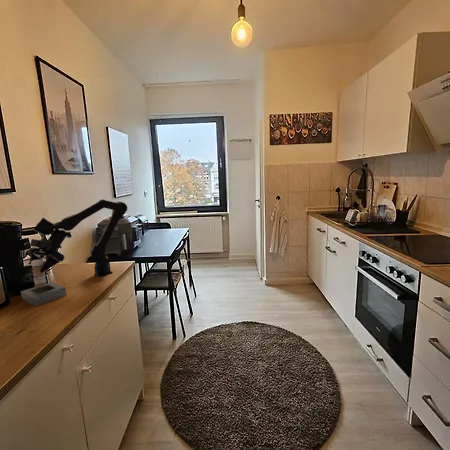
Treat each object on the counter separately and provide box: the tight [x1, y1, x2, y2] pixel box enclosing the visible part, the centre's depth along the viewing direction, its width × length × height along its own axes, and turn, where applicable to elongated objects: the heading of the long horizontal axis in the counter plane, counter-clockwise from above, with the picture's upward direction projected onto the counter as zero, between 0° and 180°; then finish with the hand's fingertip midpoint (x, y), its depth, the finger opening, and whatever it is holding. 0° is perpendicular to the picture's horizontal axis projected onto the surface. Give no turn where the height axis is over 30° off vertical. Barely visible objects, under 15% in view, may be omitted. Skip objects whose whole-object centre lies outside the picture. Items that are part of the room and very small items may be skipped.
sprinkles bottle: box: [31, 258, 47, 287], centre depth 127 cm, size 5×5×13 cm
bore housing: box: [20, 281, 67, 307], centre depth 119 cm, size 12×12×4 cm
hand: (34, 271), depth 125 cm, fingers open, 9 cm apart
